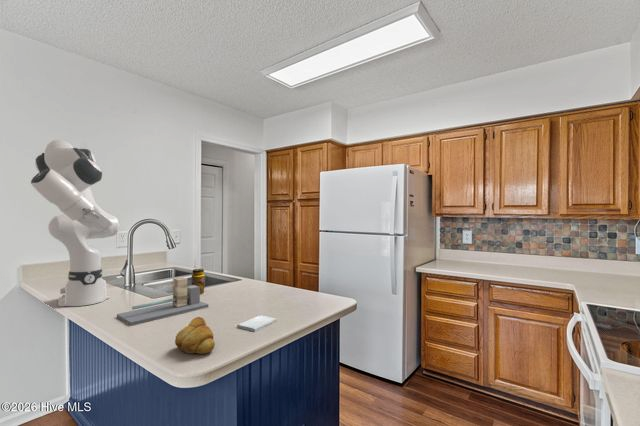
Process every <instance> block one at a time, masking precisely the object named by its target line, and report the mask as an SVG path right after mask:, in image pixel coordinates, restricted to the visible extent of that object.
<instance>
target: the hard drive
mask: <svg viewBox="0 0 640 426" xmlns="http://www.w3.org/2000/svg"><path fill="white" fill-rule="evenodd" d="M275 321H276V322H277V321H278V319H277V318H276V317H270V316H267V315H266V316H265V315H262V314H261V315H258V316H255V317H253V318H250V319H248V320H246V321H242V322H241V323H239V324H237V325H236V328H238V329H242V330H245V331H249V330H250V331H249V332H253V331H256V332H258V331H259V329H260V330H262V329H264V328H266V327H268V326H270V325H272V324H273V322H274V323H276V322H275ZM271 323H272V324H271ZM269 324H270V325H269ZM267 325H268V326H267ZM265 326H266V327H265ZM263 327H264V328H263ZM261 328H262V329H261ZM257 330H258V331H257Z"/></svg>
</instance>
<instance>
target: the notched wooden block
mask: <svg viewBox="0 0 640 426" xmlns="http://www.w3.org/2000/svg"><path fill="white" fill-rule="evenodd" d="M187 286H188V277H183V276H181V277H174V278H172V299H173V298H177V301H173V305H174V306H176V307H180V306H185V305H187Z"/></svg>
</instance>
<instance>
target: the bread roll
mask: <svg viewBox="0 0 640 426" xmlns="http://www.w3.org/2000/svg"><path fill="white" fill-rule="evenodd" d="M206 322H207V321H206V320H205V319H204V318H203V317H201V316H196V317H193V319H192V320H190V322H189V323H188V325H187V326H185V327H183V328H182V329H180V330H179V331H178V332H177V333H176V336H175V340H174V343H175V344H174V345H175V346H176V347H177V348H178V349H180V350H182V351H183V352H184V353H186V354H194V353H196V354H199V355H200V354H201V355H202V354H203V355H204V354H208V353H211V352H212V351H213V350H214V348H215V344H216V342H215V340H214V333H213V331H212V329H211V327H209V326H207V323H206Z"/></svg>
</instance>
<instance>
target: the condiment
mask: <svg viewBox="0 0 640 426" xmlns="http://www.w3.org/2000/svg"><path fill="white" fill-rule="evenodd" d="M204 272H205V270H204V269H203V268H195V269H192V273H191V285H195V286H199V287H200V296H202V295H207V293H206V292H205V277H206V276H205V273H204Z"/></svg>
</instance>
